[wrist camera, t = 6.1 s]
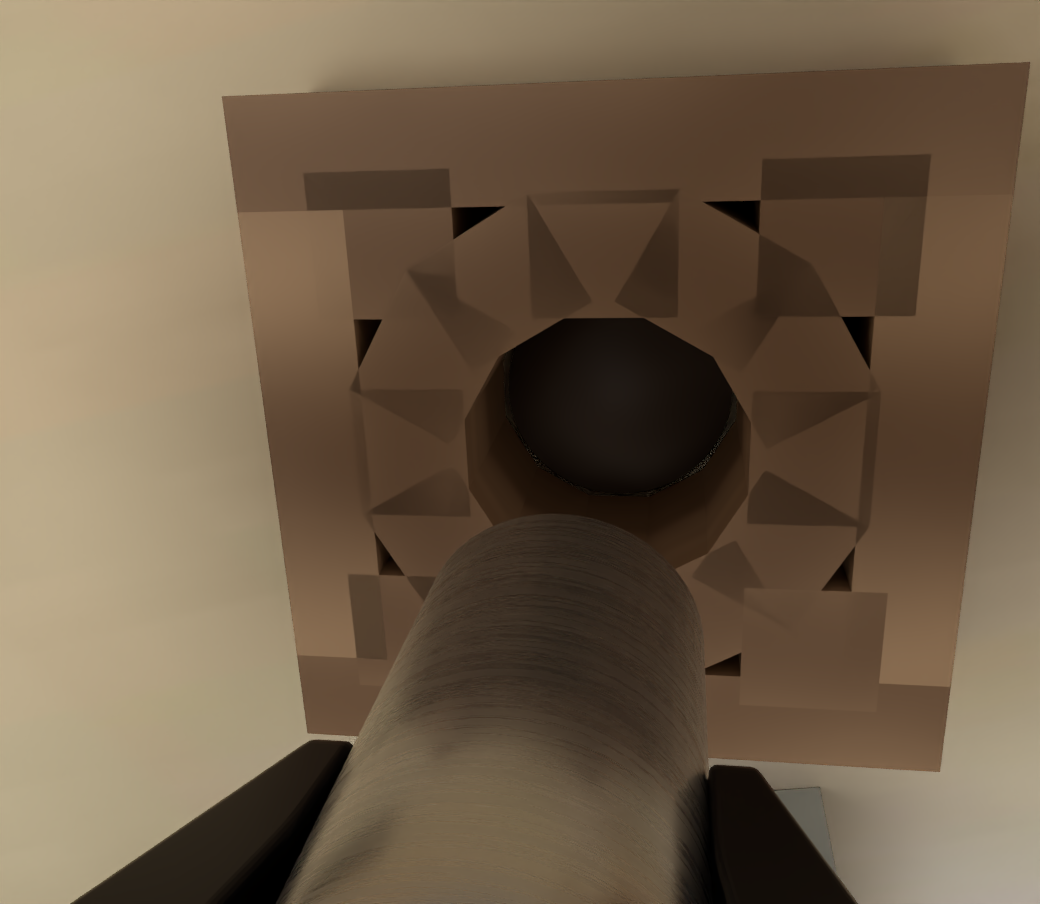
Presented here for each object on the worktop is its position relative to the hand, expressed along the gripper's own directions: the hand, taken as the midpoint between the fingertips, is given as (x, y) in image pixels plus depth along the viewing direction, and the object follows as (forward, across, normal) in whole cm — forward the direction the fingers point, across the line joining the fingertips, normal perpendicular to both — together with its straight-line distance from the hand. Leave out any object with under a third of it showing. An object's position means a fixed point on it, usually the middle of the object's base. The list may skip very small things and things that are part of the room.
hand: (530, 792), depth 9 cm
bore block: (+13, 0, 0) cm, 13 cm away
